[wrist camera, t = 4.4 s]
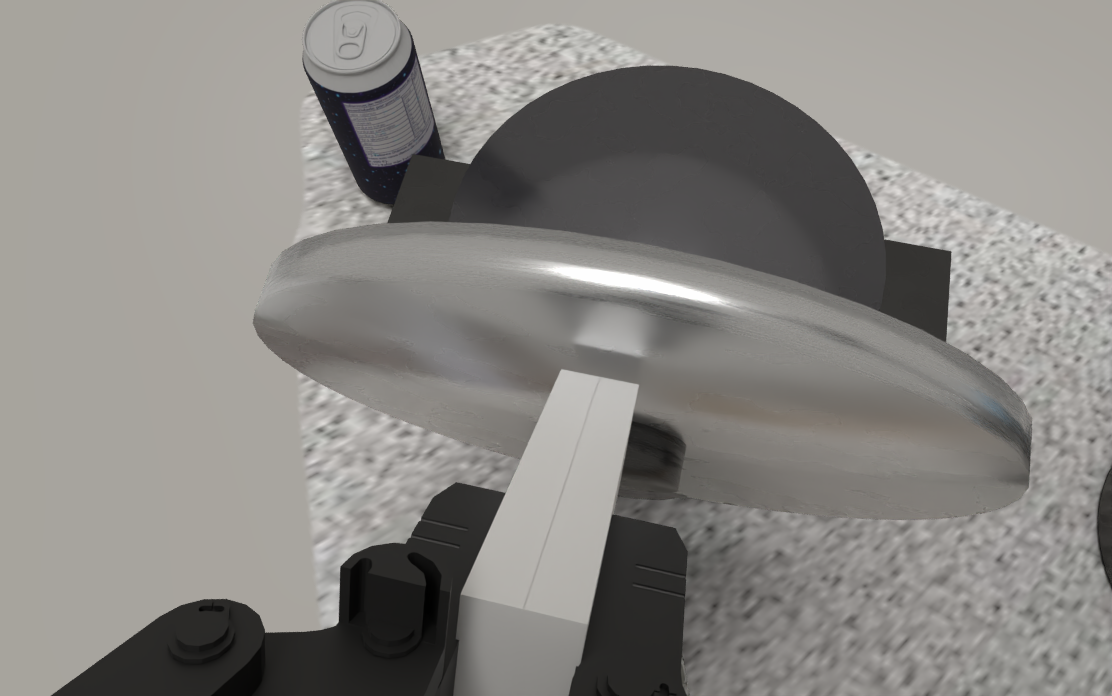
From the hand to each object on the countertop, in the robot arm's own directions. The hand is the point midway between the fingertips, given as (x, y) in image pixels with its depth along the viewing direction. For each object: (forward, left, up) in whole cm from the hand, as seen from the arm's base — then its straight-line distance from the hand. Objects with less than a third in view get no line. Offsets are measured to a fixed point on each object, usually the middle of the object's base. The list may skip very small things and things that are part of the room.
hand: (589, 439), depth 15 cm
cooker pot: (0, -15, -27) cm, 31 cm away
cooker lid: (0, -3, -7) cm, 7 cm away
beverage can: (+17, -22, -27) cm, 39 cm away
